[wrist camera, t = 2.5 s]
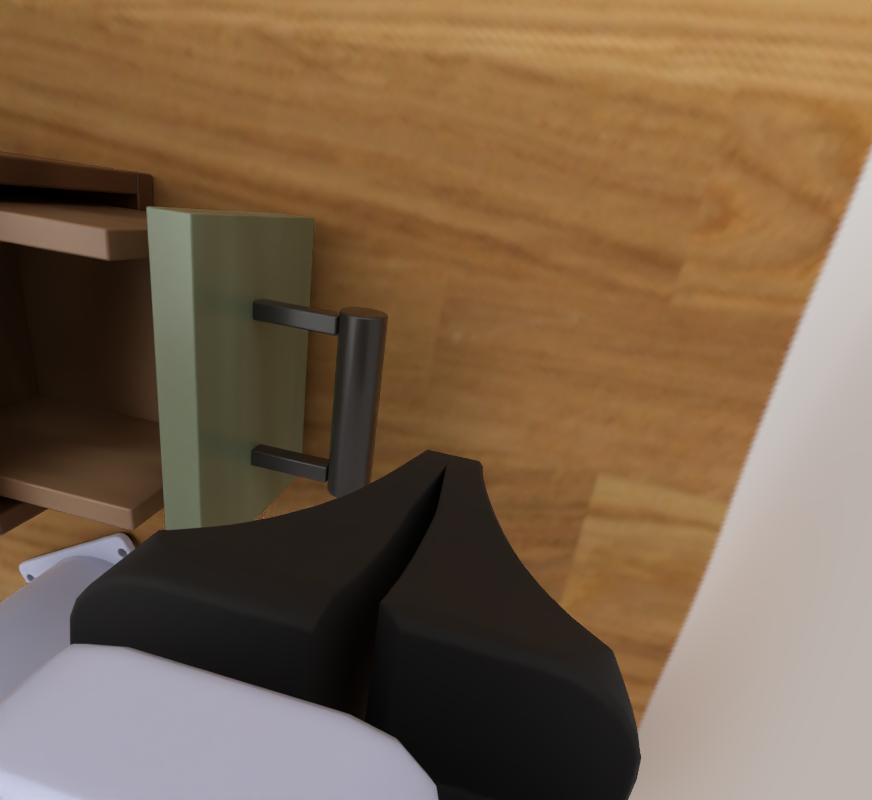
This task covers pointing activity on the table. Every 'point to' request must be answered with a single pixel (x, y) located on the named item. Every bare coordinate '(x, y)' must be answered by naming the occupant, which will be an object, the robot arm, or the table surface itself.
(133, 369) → the drawer
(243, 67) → the table surface
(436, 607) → the robot arm
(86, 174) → the cabinet
